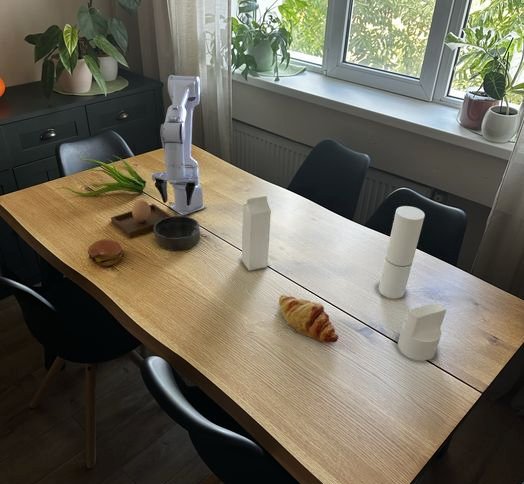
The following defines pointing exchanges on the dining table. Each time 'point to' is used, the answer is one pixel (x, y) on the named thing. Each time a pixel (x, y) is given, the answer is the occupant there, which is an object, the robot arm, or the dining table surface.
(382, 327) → the dining table surface
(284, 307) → the croissant
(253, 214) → the milk
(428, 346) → the base with upright slab
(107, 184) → the decorative plant
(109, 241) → the burger
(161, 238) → the dark grey mixing bowl
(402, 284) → the cylindrical container
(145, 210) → the egg
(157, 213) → the tray
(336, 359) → the dining table surface
